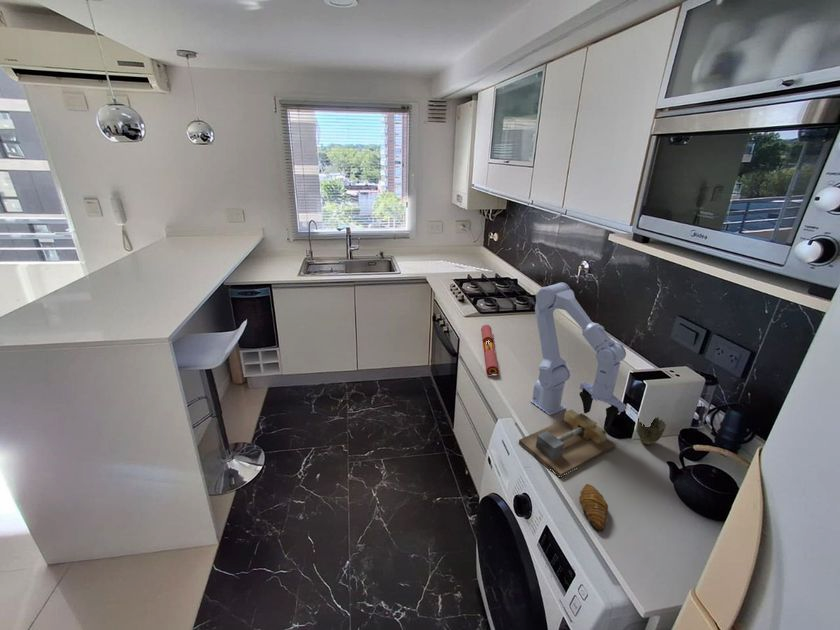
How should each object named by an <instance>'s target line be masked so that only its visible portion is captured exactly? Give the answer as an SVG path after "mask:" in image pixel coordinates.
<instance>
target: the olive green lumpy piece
mask: <svg viewBox="0 0 840 630" xmlns="http://www.w3.org/2000/svg"><path fill="white" fill-rule="evenodd" d="M666 426H667V424H666V423H665V421H663V419H660V418H659V416H658V417H655V419H654V420H653V422H652V423H651V426H650V427H645V425H644V424H643V426H642V423H641V422H639V418H638V417H637V424H636V433H637V435H638V437H639V440H640V442H641V443H642V444H643V445H646V446H651V445H653V444H654V443H655V442H657V441H659V440H660V438H661V437H662V435H663V433H664V432H665V430H666V428H667V427H666Z"/></svg>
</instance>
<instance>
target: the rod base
mask: <svg viewBox="0 0 840 630" xmlns="http://www.w3.org/2000/svg"><path fill="white" fill-rule="evenodd" d="M572 429H573V426H572V425H570V424H569V423H567V422H566V421H564V419H563V420H561V421H558V422H556V423H554V424H551V425H549V426H547V427H545V428H543V429H540V430H537V431H535V432H534V433H531V434H529V435H527V436H524V437H521V438H520V439H518V445H520V446H521V447H522V448H523V449H524V450H525V451H527V452H528V453H529V454H530V455H532V456H533V457H534V458H535V459H536V460H538V461H539V462H540V463H541V464H542V465H543V466H545V468H547V469H548V468H549V469H548V470H550V469H551V470H553V471H554V472H555V473H556V474H557V475H558V476H560V477H561V476H563V475H564V474H566V473H568V472H570V471H572V470H574V469H576V468H578V469H580V468H582V467H583V465H584V466H585V465H587V464H589V463H590V462H592V461H594V460H596V459H598V458H601V457H602V456H604V455H605V454H607V453H609V452H611V451H613V450H615V449H616V445H617V444H616V443H614V442H613V441H611V440H610V439H608V438H607V437H606V440H605V441H604V442H602V443H600V444H598V443H597V442H595V441H594V440H592V439H589V440H586V439H585V438H583V435H584V430H585V428H583V427H582V426H581V427H579V428H576V429H574V430H572ZM581 466H582V467H581ZM579 467H580V468H579ZM551 470H550V471H551ZM576 470H577V469H576ZM574 471H575V470H574ZM572 472H573V471H572ZM557 475H556V476H557ZM558 476H557V477H558ZM563 477H564V476H563ZM561 478H562V477H561Z"/></svg>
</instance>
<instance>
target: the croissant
mask: <svg viewBox="0 0 840 630" xmlns="http://www.w3.org/2000/svg"><path fill="white" fill-rule="evenodd" d="M578 499H579V500H578V501H579V504H580V506H581V508H582V510H583V511H584V513H585V515H586V518H587V520H588V519H589V520H588V521H589V523H590V524H591V526H592V525H593V526H592V528H593V529H594V530H595V529H596V530H597V532H599V531H601V532H603V530H604V529H605V527H606V523H607V521H608V516H607V515H608V511H609V505H608V503H607V501H606V499H605V497H604V496H603V494H602V493H600V491H599V490H598V489H597V488H596V487H595V486H593V485H592V484H590V483H585V485H584V487H583V488H582V489H581V491H580V495H579V498H578ZM596 530H595V531H596Z"/></svg>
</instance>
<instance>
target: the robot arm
mask: <svg viewBox="0 0 840 630" xmlns="http://www.w3.org/2000/svg"><path fill="white" fill-rule="evenodd" d="M534 295H535V301H536V302H535V307H534V311H535V312H534V313H535V317H536V318H535V319H536V324H537V330H538V335H539V340H540V348H541V353H542V361H541V363H540V365H539V366H538V370H539V372H538V373H539V374H538V379H537V380H536V381H535V383H534V385H533V390H532V398H531V400H530V401H531V402H532V403H531V402H530V401H529V402H530V403H531V404H533V402H534V404H535V405H534V404H533V405H534V406H536V407H537V406H538V407H539V409H540V410H541V409H542V412H544V411H545V412H544V413H545V414H547V415H548V416H552V415H555V414H557V413H560V412H561V411H565V410H566V408H567V407H566V406H564V405H562V399H563V393H564V387H565V383H566V381H568V380H569V379H570V376H571V372H570V370H569V367H568V366H567V361H566V360H565V359H563V358H562V357H561V354H560V349H559V341H558V335H557V330H556V329H557V328H556V324H555V318H554V312H555V310H556V309H559V310H564V311H565V312H566V313H567V314H568V315H569V316H570V317H571V319H572V320H573V321H575V322H576V323H577V325H578V326H580V328H581V329H582V332H581V334H582V336H583V338H584V339H585V340H586V342H587V343H588V344H589V346H590V347H591V348H592V349H593V350H594V351H595V358H596V359H595V360H597V369H596V373H595V377H594V383H593V385H592V384H590V383H587V382H585V381H584V382H581V383H580V385H579V390H582V391H581V392H579V396H580V399H581V402H582V408H583V414H584V415H585V414H588V413H590V411H591V408H592V404H593V400H594V401H597V402H598V401H600V402H602V403H603V402H604V403H606V404H608V405H609V406H608V407H607V408H605V412H606V415H605V421H604V427H610V426H611V425H612V423H613V422H614V420H615V418H617V416H618V415H619V414H620V413H622V412H624V411H626V407H627V405H626V404H625V403H624V402H622V401H621V400H620V399H619V398H618V397H617V396H615V395H614V392H615V387H616V384H617V379H618V375H619V370H620V365H621V362H622V361H623V360H625V358H626V357H627V351H626V349H625V347H624V345H623V344H622V343H620V342H618V341H617V342H616V341H615V340H613V339H612V337H610V336H609V334H608V333H607V332H606V330H605V327H604V326H603V325H601V324H599V323H598V322H597V323H596V322H593V321H592V320H591V319H590V317H589V316H588V314H587V312H586V310H584V309H583V306H581V304H580V303H579V302H578V300H577V299H576V297H575V292H574V291H573V290H572V289H571V287H570V286H569V285H568V284H567V283H565V282H557V283H554V284H551V285H548V286H542V287H540V289H538V291H537V292H536V293H535V294H534ZM538 407H537V408H538Z"/></svg>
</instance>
